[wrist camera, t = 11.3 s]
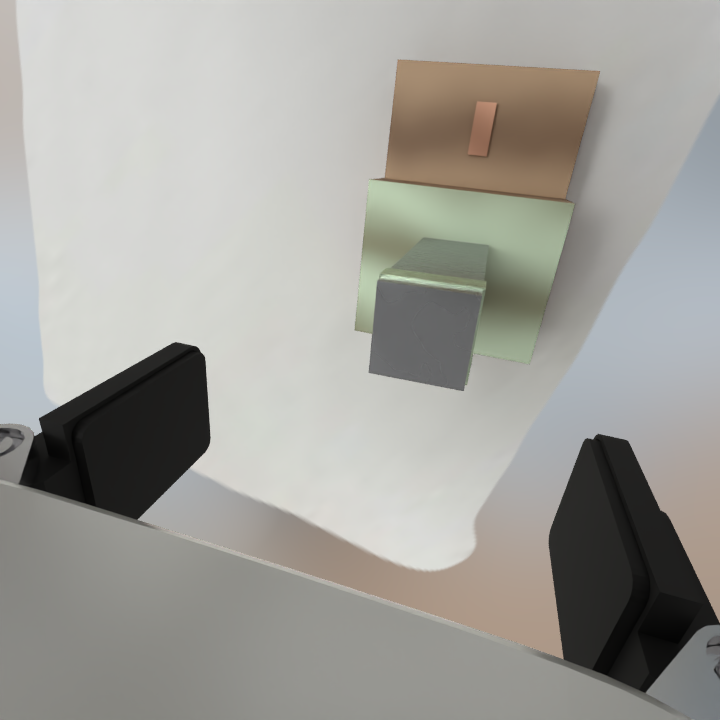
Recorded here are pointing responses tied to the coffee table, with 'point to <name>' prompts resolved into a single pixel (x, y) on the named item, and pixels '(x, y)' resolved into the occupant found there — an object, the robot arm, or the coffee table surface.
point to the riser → (480, 184)
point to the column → (429, 313)
